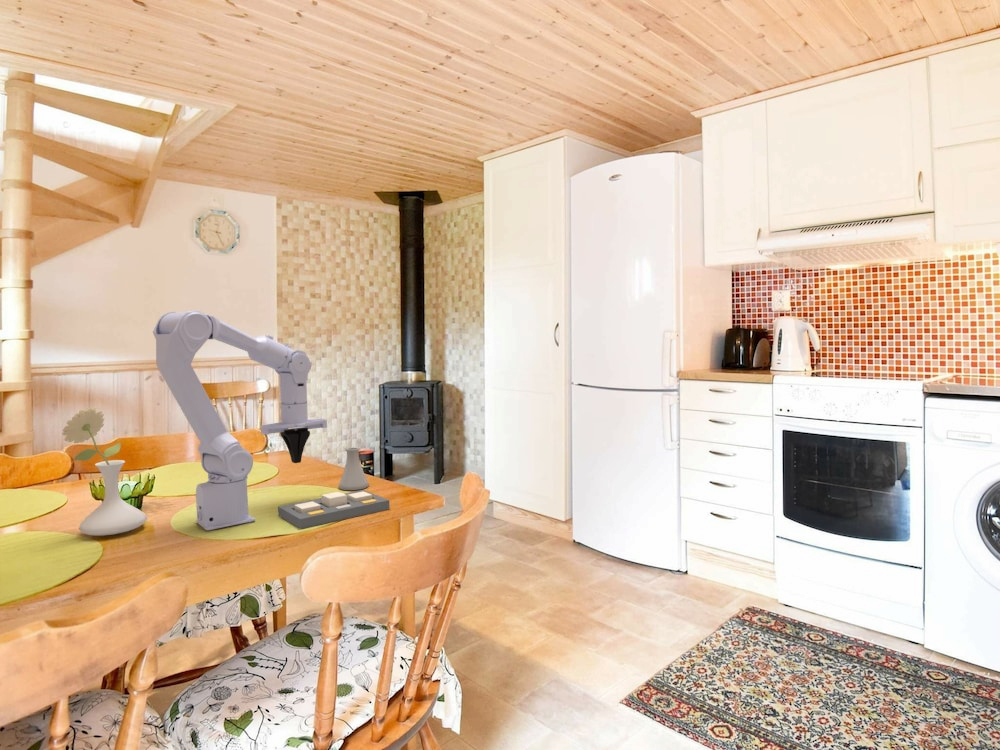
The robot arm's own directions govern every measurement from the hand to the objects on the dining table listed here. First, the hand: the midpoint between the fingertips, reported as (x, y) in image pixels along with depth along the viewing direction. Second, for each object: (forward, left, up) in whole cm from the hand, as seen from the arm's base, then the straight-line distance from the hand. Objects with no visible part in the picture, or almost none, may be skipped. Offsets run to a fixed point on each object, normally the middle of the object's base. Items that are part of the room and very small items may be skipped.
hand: (296, 462), depth 138 cm
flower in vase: (-36, +5, -10) cm, 38 cm away
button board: (+3, -13, -9) cm, 16 cm away
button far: (+9, -13, -9) cm, 18 cm away
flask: (+16, +4, -10) cm, 19 cm away
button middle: (+3, -13, -8) cm, 15 cm away
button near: (-3, -13, -9) cm, 16 cm away
